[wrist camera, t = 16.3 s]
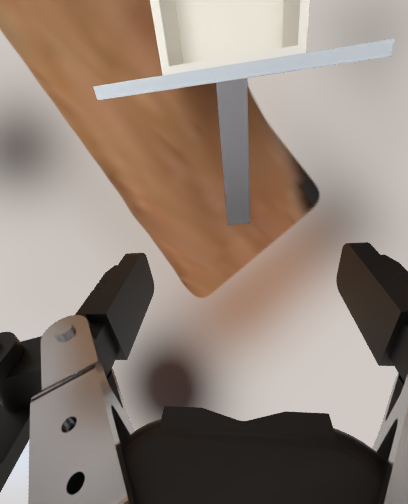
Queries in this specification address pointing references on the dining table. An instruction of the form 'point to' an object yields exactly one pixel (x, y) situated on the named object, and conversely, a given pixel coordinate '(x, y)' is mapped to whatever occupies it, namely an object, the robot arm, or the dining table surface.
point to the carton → (227, 31)
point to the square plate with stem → (242, 105)
